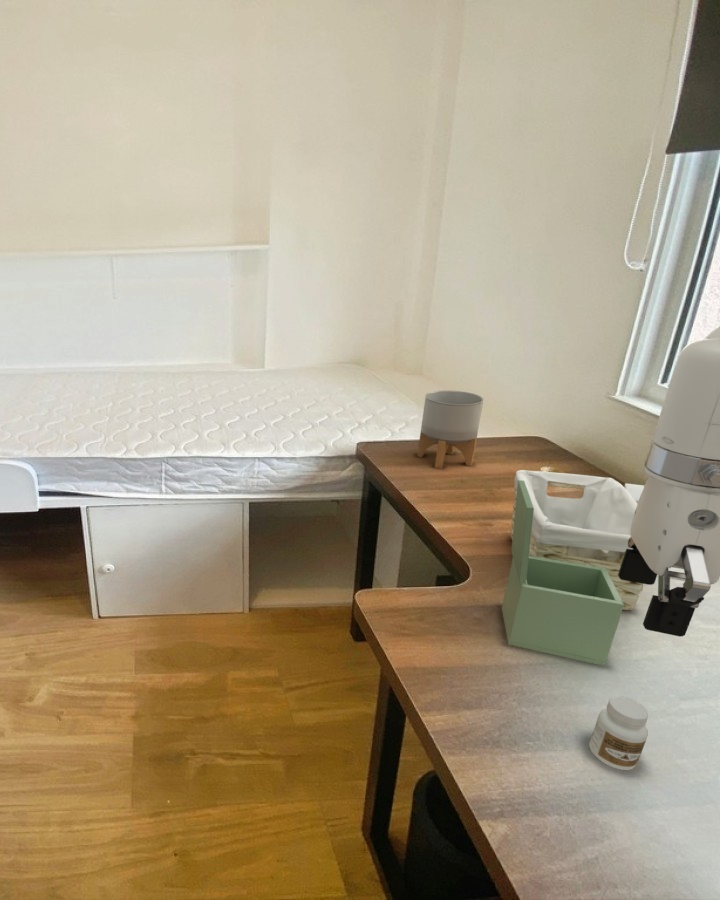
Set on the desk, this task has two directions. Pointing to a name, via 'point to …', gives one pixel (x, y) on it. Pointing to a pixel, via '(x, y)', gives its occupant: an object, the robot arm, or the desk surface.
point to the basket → (582, 524)
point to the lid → (522, 531)
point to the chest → (562, 609)
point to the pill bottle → (620, 733)
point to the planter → (450, 424)
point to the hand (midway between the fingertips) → (648, 604)
